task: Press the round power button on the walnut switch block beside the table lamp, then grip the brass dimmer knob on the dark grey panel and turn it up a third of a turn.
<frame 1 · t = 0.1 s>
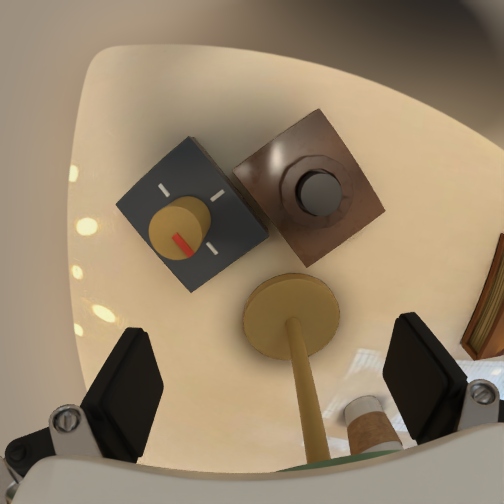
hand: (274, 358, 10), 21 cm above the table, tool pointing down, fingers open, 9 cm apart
switch block: (309, 187, 28), on the table
lamp: (291, 316, 33), on the table
dimmer panel: (193, 213, 29), on the table
coffee cup: (360, 406, 39), on the table
dimmer knob: (181, 226, 24), point 5 cm above the table, hinge at 0.0°
power button: (319, 193, 24), point 4 cm above the table, slide at 0.1 cm
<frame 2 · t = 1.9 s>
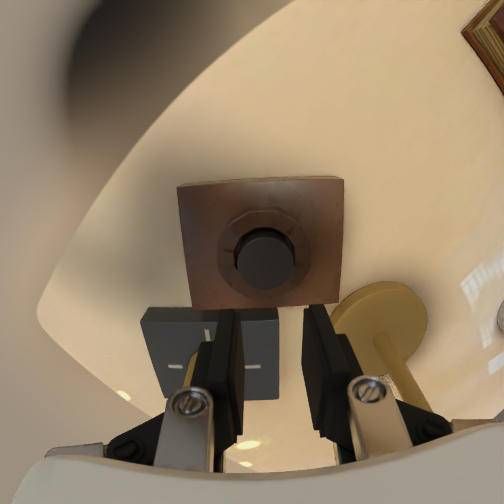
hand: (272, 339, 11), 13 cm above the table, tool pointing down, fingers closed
switch block: (262, 240, 23), on the table
lamp: (374, 330, 26), on the table
dimmer panel: (216, 350, 27), on the table
dimmer knob: (209, 386, 22), point 5 cm above the table, hinge at 0.0°
power button: (265, 259, 19), point 4 cm above the table, slide at 0.1 cm
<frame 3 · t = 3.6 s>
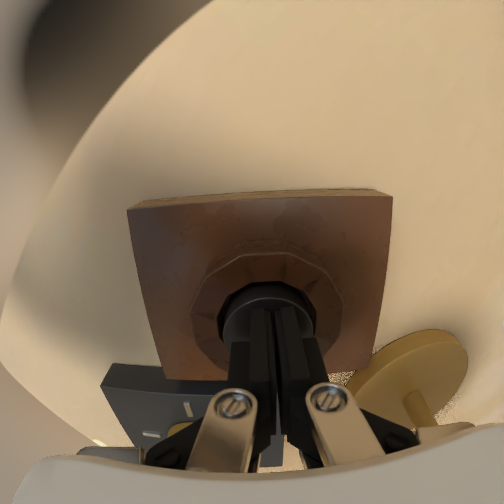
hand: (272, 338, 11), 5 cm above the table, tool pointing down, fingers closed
switch block: (263, 284, 16), on the table
lamp: (404, 384, 19), on the table
dimmer panel: (202, 413, 19), on the table
dimmer knob: (194, 468, 14), point 5 cm above the table, hinge at 0.0°
power button: (267, 325, 12), point 4 cm above the table, slide at -0.5 cm, touching gripper
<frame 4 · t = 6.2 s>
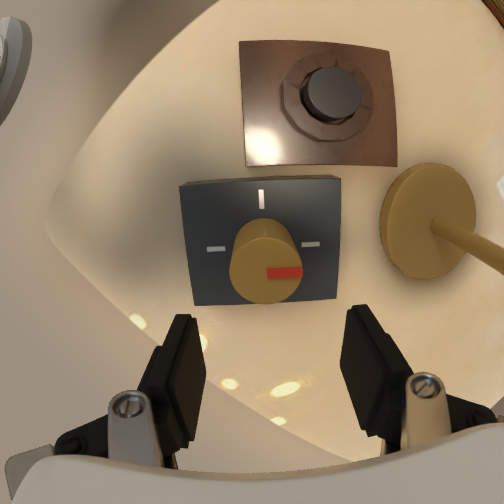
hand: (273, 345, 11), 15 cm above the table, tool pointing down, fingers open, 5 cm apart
switch block: (317, 104, 21), on the table
lamp: (428, 220, 24), on the table
dimmer panel: (262, 236, 24), on the table
dimmer knob: (264, 258, 19), point 5 cm above the table, hinge at 0.0°
power button: (331, 94, 16), point 4 cm above the table, slide at 0.1 cm
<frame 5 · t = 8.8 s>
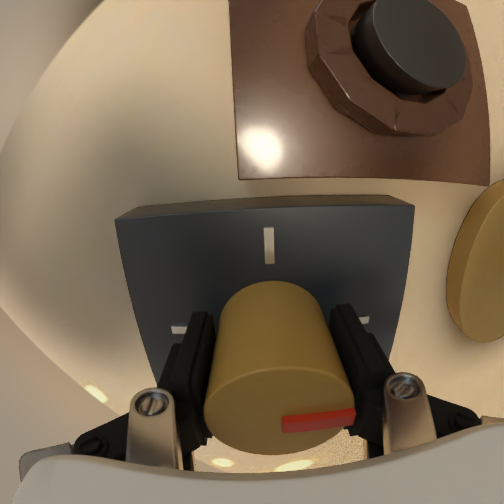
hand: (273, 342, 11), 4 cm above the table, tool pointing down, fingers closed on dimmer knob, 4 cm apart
switch block: (366, 71, 10), on the table
lamp: (502, 260, 14), on the table
dimmer panel: (268, 298, 14), on the table
dimmer knob: (275, 369, 9), point 5 cm above the table, hinge at 0.2°, touching gripper
power button: (411, 43, 6), point 4 cm above the table, slide at 0.1 cm
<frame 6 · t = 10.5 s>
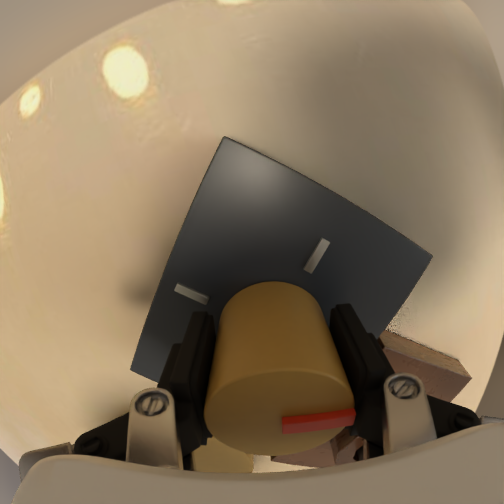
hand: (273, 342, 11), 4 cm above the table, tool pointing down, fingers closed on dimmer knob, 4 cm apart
switch block: (369, 406, 17), on the table
lamp: (187, 448, 19), on the table
dimmer panel: (269, 298, 14), on the table
dimmer knob: (275, 369, 9), point 5 cm above the table, hinge at 120.4°, touching gripper
power button: (386, 453, 13), point 4 cm above the table, slide at 0.1 cm
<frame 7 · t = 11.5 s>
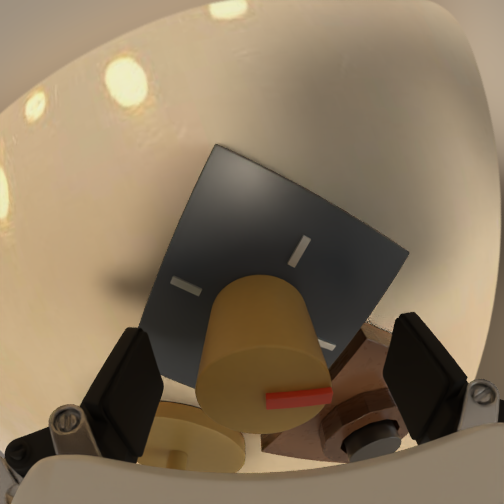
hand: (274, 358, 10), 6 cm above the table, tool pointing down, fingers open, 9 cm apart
switch block: (356, 399, 19), on the table
lamp: (181, 440, 20), on the table
dimmer panel: (257, 292, 15), on the table
dimmer knob: (261, 353, 11), point 5 cm above the table, hinge at 119.6°
power button: (372, 443, 14), point 4 cm above the table, slide at 0.1 cm
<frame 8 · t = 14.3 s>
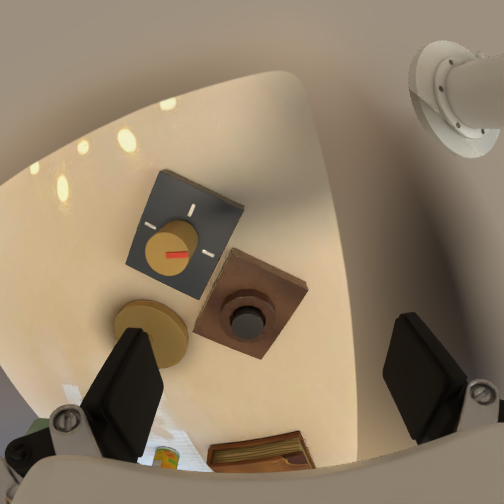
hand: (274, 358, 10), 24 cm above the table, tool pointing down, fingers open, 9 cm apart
switch block: (248, 304, 37), on the table
lamp: (151, 332, 39), on the table
dimmer panel: (184, 232, 34), on the table
diary: (268, 462, 51), on the table
dimmer knob: (172, 246, 29), point 5 cm above the table, hinge at 119.6°
supplement bottle: (168, 451, 50), on the table
power button: (247, 323, 33), point 4 cm above the table, slide at 0.1 cm
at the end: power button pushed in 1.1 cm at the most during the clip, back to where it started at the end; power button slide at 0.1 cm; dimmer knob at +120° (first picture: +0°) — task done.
